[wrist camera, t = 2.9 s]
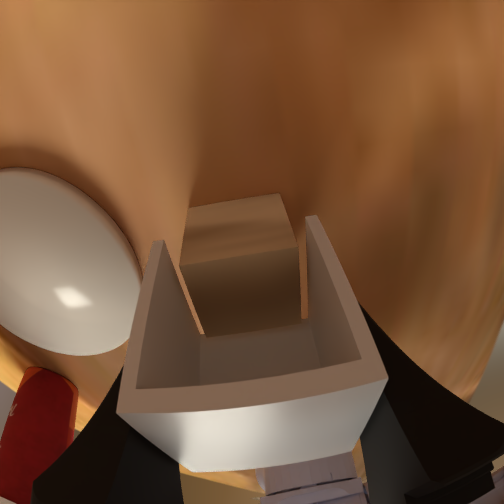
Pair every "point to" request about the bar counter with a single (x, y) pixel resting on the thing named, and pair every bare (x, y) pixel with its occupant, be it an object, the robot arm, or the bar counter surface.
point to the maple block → (242, 265)
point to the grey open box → (251, 374)
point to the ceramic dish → (63, 266)
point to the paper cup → (35, 431)
